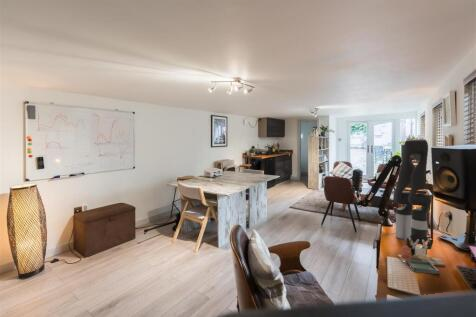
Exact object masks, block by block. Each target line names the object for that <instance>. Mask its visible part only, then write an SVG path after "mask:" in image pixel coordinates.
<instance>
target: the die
mask: <svg viewBox="0 0 476 317" xmlns="http://www.w3.org/2000/svg"><path fill="white" fill-rule="evenodd" d="M414 249H415V255H413V256H419V257H427V255H426V249H425V248H423V246H422V245H416V246H415V248H414Z"/></svg>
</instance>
